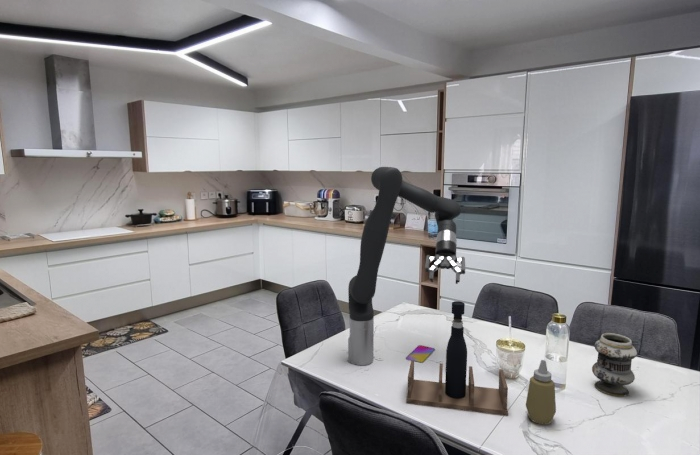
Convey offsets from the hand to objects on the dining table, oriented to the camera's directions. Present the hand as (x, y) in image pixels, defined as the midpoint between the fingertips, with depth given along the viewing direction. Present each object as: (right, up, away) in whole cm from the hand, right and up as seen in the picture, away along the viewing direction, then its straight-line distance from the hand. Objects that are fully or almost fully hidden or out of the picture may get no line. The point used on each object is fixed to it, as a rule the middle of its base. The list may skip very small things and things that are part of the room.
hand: (444, 281), depth 146 cm
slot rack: (0, -36, -14) cm, 38 cm away
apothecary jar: (+54, -35, -8) cm, 65 cm away
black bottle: (0, -34, -14) cm, 37 cm away
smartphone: (-5, -32, +19) cm, 38 cm away
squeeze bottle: (+22, -37, -25) cm, 50 cm away
